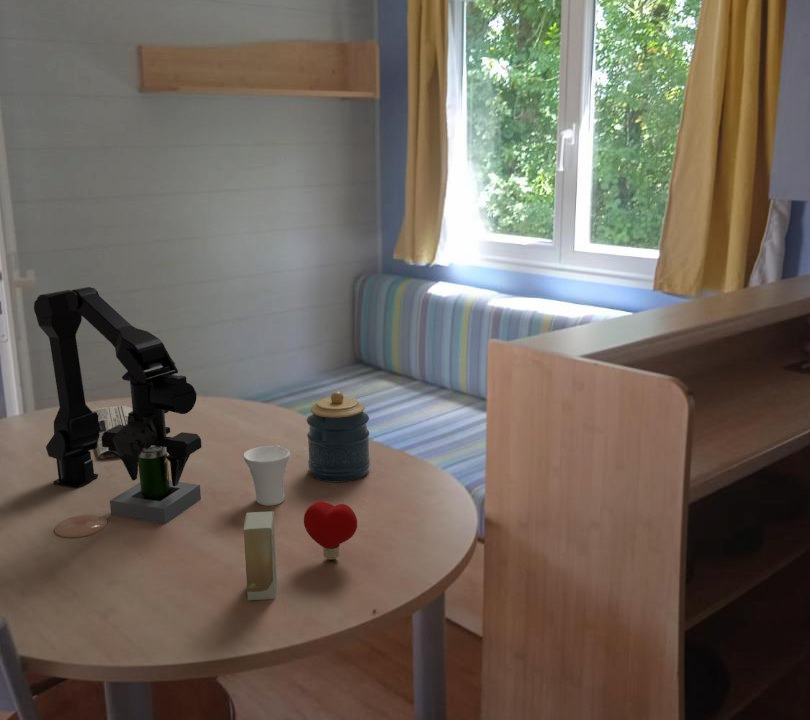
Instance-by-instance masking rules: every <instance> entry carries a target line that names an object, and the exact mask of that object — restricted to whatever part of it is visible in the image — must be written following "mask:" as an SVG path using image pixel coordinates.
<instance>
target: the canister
mask: <svg viewBox="0 0 810 720" xmlns="http://www.w3.org/2000/svg"><path fill="white" fill-rule="evenodd" d="M365 408H366V407H365V405H364V404H363V403H361V402H360V401H358V400H357V398H356V399H355V398H354V397H349V396H344V394H343V393H342V392H341V391H339V390H338V391H333V392H332V394H331V395H330V397H325V398H321V399H319V400H318V401H317V402H316V403H314V404H312V405H311V406H310V408H309V411H310V412H311V413H310V415H308V416H307V418H306V423H307V424H308V425H309V430H308V431H307V434H306V436H307V439H308V442H307V443H308V444H307V445H308V463H307V464H308V469H309V473H310V476H312V477H313V478H315V479H317V480H319V481H324V482H331V483H342V482H343V483H344V482H350V481H355V480H358V479H361V478H363V477H365V476H366V475H367V474H368V473H369V471H370V466H371V463H370V462H371V458H370V447H369V446H370V442H369V439H370V438H369V437H370V431H369V429H368V427H367V423H368V422H369V421H370V417H369V415H368V414H367V413H366V412H364V411H365V410H366V409H365Z"/></svg>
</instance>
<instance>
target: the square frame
mask: <svg viewBox="0 0 810 720" xmlns="http://www.w3.org/2000/svg"><path fill="white" fill-rule="evenodd" d="M169 483H170V495H169V496H168V497H166V498H165V499H163V500H162V501H154V500H148V499H142V498H141V487H140V482H139V483H137V484H135V485H133V486H131V487H130V488H128V489H127V490H125V491H123V492H121V493H120V494H118V495H116V496H114V497H113V498H112V499H110V500H109V505H110V515H111V516H114V517H121V518H125V519H132V520H139V521H145V522H151V523H158V524H164V525H166V524H167V523H169V522H170V521H172V520H174V519H175V518H176V517H178V516H179V515H181V514H182V513H183V512H184V511H187V509H189V508H190V507H192V506H194V504H196V503H197V502H198V501H200V500H202V494H201V484H196V483H190V482H189V483H188V482H182V481H179V482H178V485H176V486H173V484H172V480H169Z"/></svg>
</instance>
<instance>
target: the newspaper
mask: <svg viewBox="0 0 810 720" xmlns="http://www.w3.org/2000/svg"><path fill="white" fill-rule="evenodd" d="M90 410H91V411H92V412H96V413H97V414H98V421H99V426H100V429H101V431H99V434H100V435H99V439H98V445H97V448H96V449H95V451H96V454H97V457H98V458H99V459H101V460H103V459H105V458H110V457H116V455H115V453H114V452H112V451H109V450H108V447H103V446H102V439H101V437H102V435H103V433H104V432H105V431H107V430H109V429H111V428H113V427H115V426H117V425H127V423H128V413H130V412H132V411H133V410H132V406H131V407H129V406H125V405H116V406H114V405H113V406H105V407H98V408H94V409H90Z"/></svg>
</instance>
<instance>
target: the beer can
mask: <svg viewBox="0 0 810 720" xmlns="http://www.w3.org/2000/svg"><path fill="white" fill-rule="evenodd" d="M167 456H168V452H167V451H166V447H162V446H154V445H152V446H151V447H150V448H149V449H145V448H144V449H143V450H142V452H141V453H140V454H139V455H138V474H139V483H140V487H141V498H142V499H148V500H154V501H162V500H163V499H165V498H166V497H168V496H169V495H170V483H169V481H170V472H169V464H168V463H169V460H168V459H167V458H166V457H167Z"/></svg>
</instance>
